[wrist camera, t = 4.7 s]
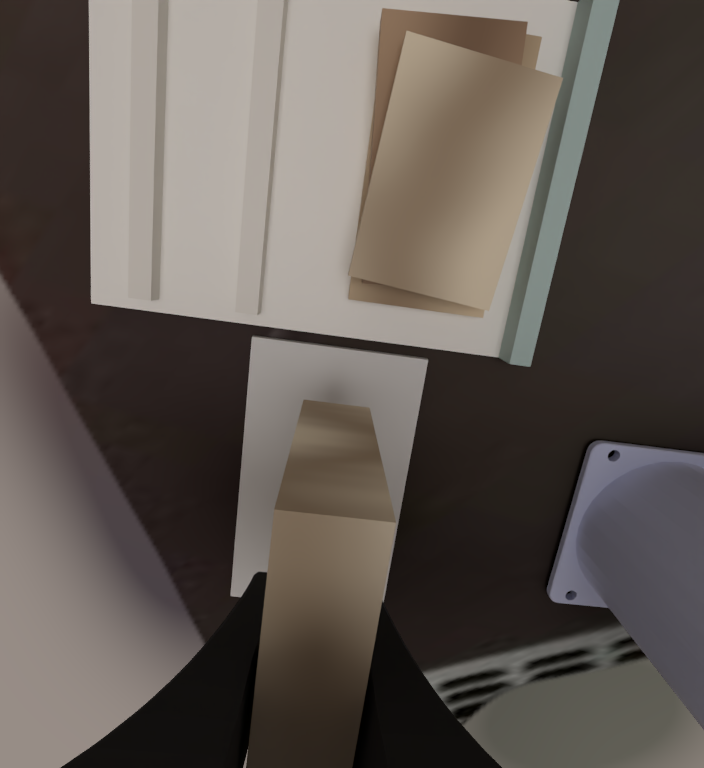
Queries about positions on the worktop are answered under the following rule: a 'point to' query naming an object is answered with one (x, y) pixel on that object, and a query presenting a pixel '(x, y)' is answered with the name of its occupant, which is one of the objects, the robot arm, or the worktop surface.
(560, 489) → the worktop surface
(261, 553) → the felt pad
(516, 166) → the offcut stack
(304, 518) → the birch panel
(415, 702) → the robot arm
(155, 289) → the board
